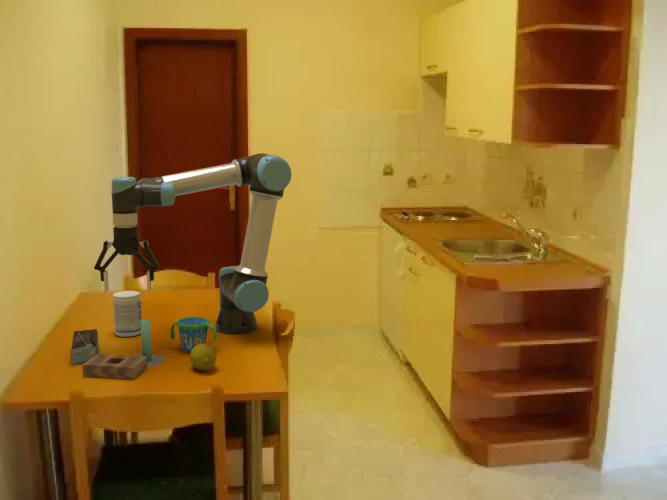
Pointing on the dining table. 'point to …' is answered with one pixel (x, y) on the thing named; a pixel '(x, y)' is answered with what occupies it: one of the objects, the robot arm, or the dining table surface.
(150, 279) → the robot arm
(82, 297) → the dining table surface
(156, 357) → the mat
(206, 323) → the snack cup
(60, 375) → the dining table surface
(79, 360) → the beverage carton
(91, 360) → the block
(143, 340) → the peg
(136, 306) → the supplement tub
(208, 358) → the lemon
